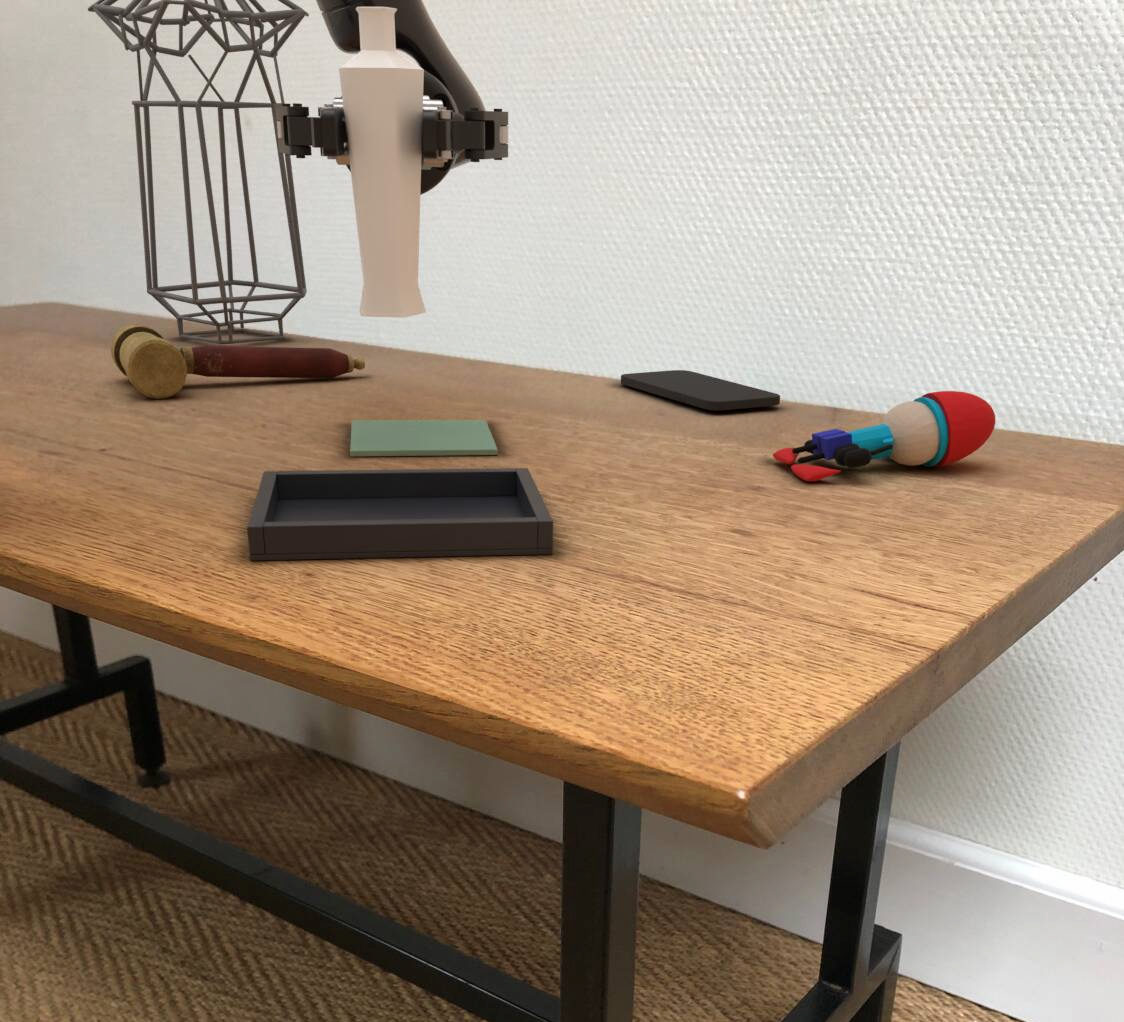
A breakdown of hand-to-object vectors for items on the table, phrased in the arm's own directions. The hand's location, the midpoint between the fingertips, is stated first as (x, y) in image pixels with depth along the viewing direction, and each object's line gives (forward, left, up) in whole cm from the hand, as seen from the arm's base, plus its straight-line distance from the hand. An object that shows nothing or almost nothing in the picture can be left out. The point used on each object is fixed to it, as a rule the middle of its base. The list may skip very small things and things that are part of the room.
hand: (380, 134), depth 65 cm
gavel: (-12, +41, -20) cm, 47 cm away
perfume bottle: (0, +3, -9) cm, 10 cm away
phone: (+26, +34, -20) cm, 47 cm away
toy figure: (+33, +8, -20) cm, 40 cm away
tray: (0, -4, -20) cm, 20 cm away
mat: (+2, +18, -20) cm, 27 cm away
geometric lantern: (-16, +66, -20) cm, 71 cm away
